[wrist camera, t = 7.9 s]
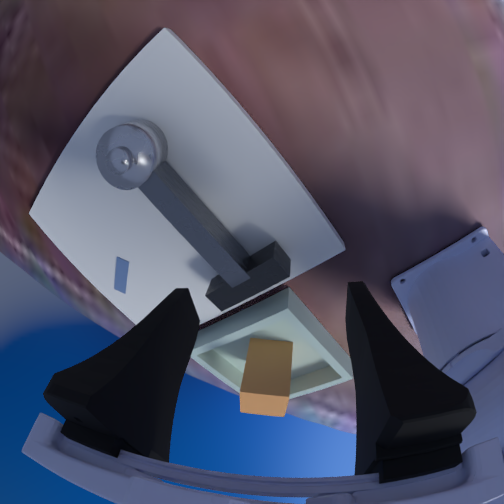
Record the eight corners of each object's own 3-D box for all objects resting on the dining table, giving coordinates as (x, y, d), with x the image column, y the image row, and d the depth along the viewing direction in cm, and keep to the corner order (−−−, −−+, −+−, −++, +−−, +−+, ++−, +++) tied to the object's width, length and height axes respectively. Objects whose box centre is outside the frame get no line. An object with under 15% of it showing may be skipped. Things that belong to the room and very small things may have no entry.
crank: (98, 156, 18) (73, 170, 16) (151, 95, 16) (126, 101, 13) (227, 294, 23) (218, 321, 21) (290, 259, 21) (289, 286, 18)
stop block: (250, 337, 27) (239, 391, 22) (293, 341, 27) (289, 396, 22) (249, 362, 29) (240, 412, 24) (288, 366, 29) (284, 416, 24)
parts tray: (289, 286, 24) (287, 308, 22) (351, 358, 28) (353, 378, 26) (192, 333, 29) (185, 352, 27) (261, 388, 33) (259, 406, 31)
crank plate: (170, 29, 14) (163, 27, 13) (343, 242, 21) (345, 250, 20) (35, 208, 23) (28, 214, 22) (161, 337, 30) (158, 344, 29)
